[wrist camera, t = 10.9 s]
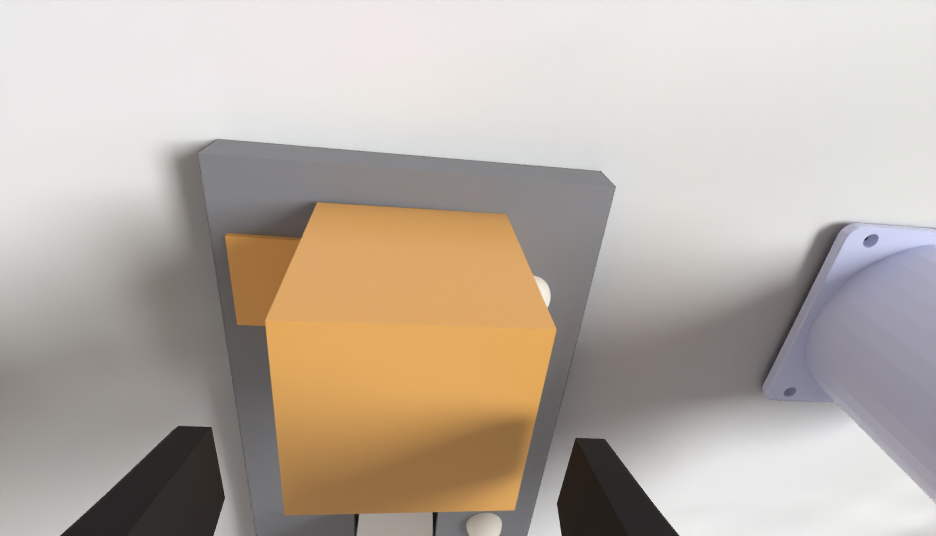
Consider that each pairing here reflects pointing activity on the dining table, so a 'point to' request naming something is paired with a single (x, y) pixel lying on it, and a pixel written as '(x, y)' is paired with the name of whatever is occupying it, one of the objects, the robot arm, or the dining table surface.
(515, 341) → the orange cube
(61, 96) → the dining table surface
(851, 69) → the dining table surface
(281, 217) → the panel
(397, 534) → the untagged breaker
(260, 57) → the dining table surface
